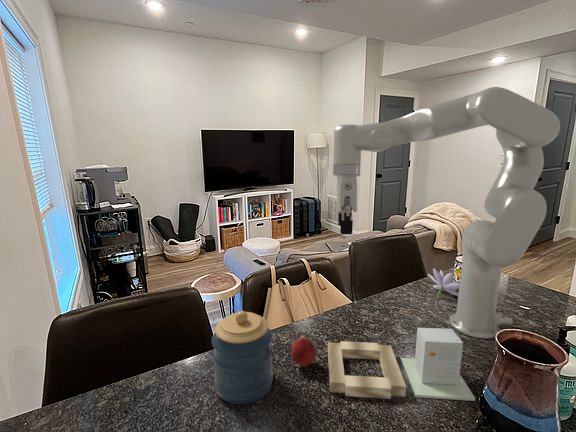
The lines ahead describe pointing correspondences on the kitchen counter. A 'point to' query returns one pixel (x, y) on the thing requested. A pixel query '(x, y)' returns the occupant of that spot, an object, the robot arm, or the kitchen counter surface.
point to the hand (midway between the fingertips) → (344, 229)
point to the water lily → (445, 282)
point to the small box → (438, 356)
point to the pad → (435, 385)
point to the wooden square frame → (362, 384)
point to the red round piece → (303, 351)
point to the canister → (242, 358)
